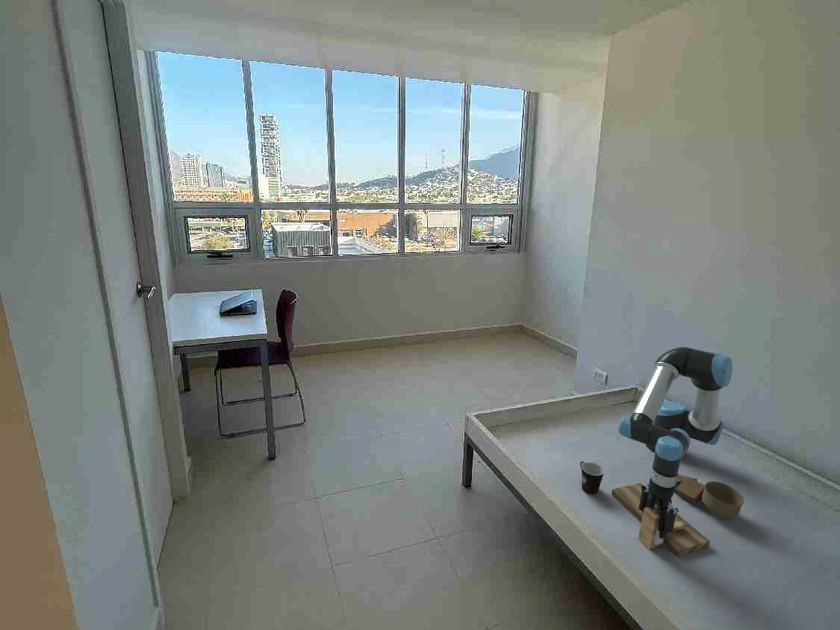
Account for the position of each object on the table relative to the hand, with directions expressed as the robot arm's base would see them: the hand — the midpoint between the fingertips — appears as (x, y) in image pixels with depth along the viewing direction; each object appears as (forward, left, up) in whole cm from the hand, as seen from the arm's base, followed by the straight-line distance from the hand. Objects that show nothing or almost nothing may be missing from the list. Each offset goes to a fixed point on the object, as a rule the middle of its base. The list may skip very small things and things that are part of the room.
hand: (651, 537), depth 152 cm
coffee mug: (+2, -31, -2) cm, 31 cm away
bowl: (-36, -4, -2) cm, 37 cm away
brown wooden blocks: (-35, -18, -3) cm, 40 cm away
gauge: (-6, 0, -2) cm, 6 cm away
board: (-11, -8, -2) cm, 14 cm away
